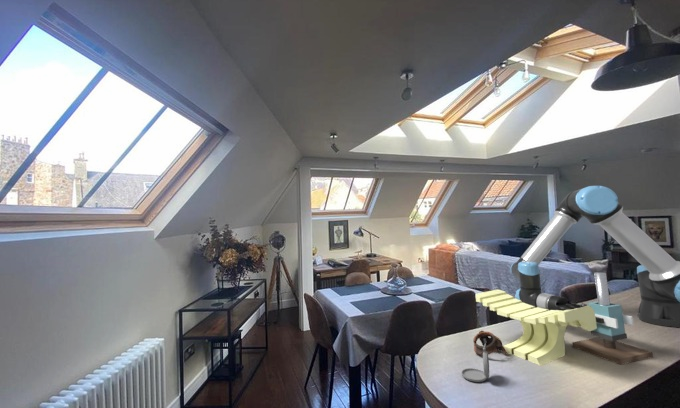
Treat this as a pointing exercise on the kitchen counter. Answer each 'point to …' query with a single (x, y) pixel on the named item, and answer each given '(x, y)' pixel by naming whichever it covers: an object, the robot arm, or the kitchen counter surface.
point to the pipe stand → (605, 347)
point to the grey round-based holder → (477, 374)
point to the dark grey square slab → (611, 338)
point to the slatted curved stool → (537, 326)
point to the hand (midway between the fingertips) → (624, 322)
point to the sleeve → (611, 312)
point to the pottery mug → (488, 343)
